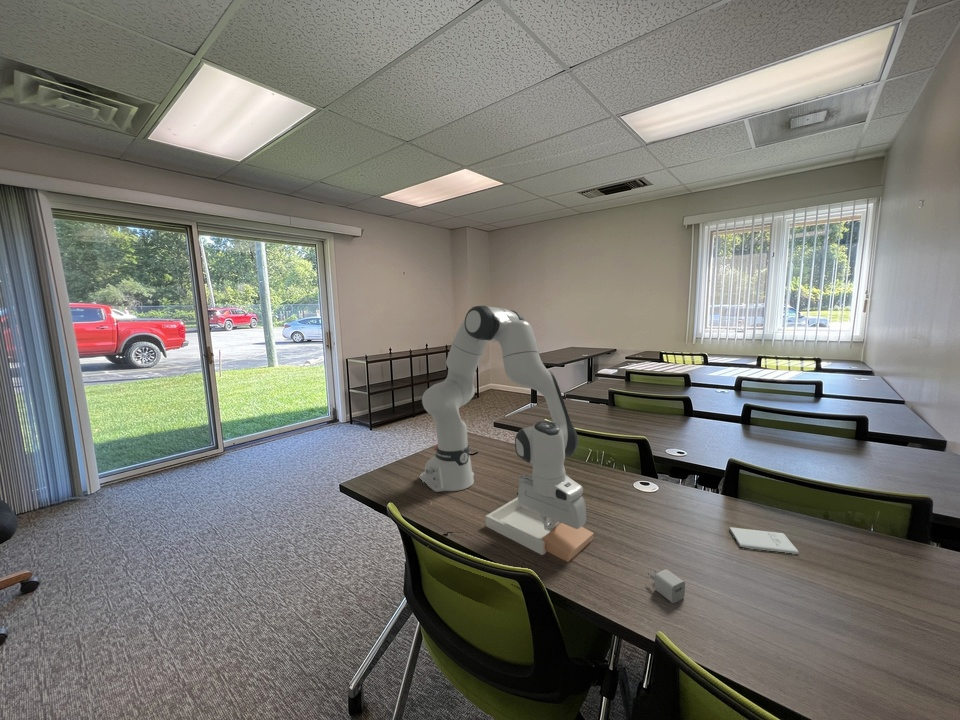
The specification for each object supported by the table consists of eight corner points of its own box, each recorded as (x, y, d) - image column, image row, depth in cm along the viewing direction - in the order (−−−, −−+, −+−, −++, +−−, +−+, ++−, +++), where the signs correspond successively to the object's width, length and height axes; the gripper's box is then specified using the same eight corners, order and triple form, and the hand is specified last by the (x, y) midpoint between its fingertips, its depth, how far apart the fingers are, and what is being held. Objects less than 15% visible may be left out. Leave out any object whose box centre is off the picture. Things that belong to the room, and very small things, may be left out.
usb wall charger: (671, 604, 79) (671, 586, 78) (645, 583, 85) (645, 567, 85) (684, 597, 80) (685, 580, 80) (657, 577, 87) (657, 561, 86)
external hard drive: (729, 531, 103) (782, 537, 100) (739, 550, 96) (798, 557, 92) (729, 526, 103) (783, 532, 100) (740, 544, 96) (798, 551, 92)
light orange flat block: (541, 547, 98) (542, 537, 97) (566, 527, 106) (567, 518, 105) (567, 565, 92) (569, 554, 92) (592, 542, 101) (593, 533, 100)
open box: (486, 528, 109) (485, 515, 109) (520, 507, 121) (520, 495, 120) (542, 558, 95) (542, 543, 95) (575, 530, 106) (575, 517, 106)
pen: (443, 535, 108) (443, 531, 108) (509, 535, 106) (509, 531, 106) (442, 536, 107) (442, 533, 107) (509, 537, 105) (509, 533, 105)
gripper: (512, 476, 106) (514, 521, 108) (575, 498, 92) (576, 551, 93) (525, 468, 111) (527, 513, 112) (588, 489, 96) (589, 539, 98)
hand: (550, 530), depth 103 cm, fingers closed
